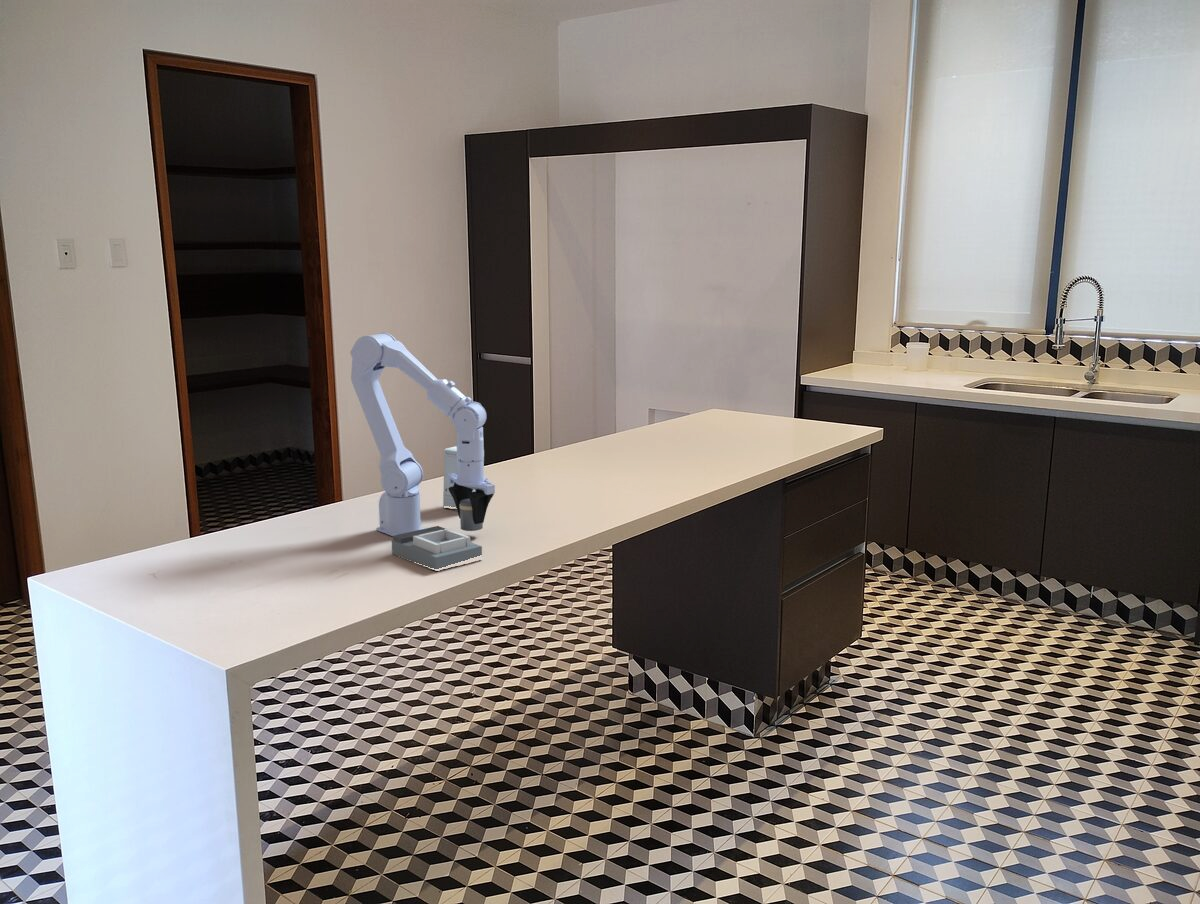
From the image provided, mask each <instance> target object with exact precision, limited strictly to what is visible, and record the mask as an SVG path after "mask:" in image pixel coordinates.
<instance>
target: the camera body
mask: <svg viewBox="0 0 1200 904" xmlns="http://www.w3.org/2000/svg"><path fill="white" fill-rule="evenodd" d="M392 553H393V554H395V555H394V556H396V555H398V556H400V557H399V558H401V557H403V558H405V559H408V560H411V561H413V562H416V563H419V564H422V565H425V566H428V567H430V568H434V569H439V568H442V567H446V566H448V565H451V564H455V563H458V562H461V561H465V560H468V559H470V558H474V557H477V556H480V555H482V556H483V546H482V545H480V544H477V543H474V542H472V541H471V536H470V535H466V534H463V533H460V532H458V531H455V530H452V529H449V528H445V527H442V526H439V525H436V526H430V527H425V529H421V530H417V531H412V532H408V533H403V534H399V535H394V536H392V539H391V554H392ZM393 554H392V555H393ZM398 556H397V557H398ZM403 558H402V559H403ZM405 559H404V560H405ZM408 560H407V561H408ZM413 562H412V563H413Z"/></svg>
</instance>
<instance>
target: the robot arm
mask: <svg viewBox="0 0 1200 904" xmlns="http://www.w3.org/2000/svg"><path fill="white" fill-rule="evenodd" d="M349 353H350V356H351V359H352V360H351V373H350V379H351V380H350V381H351V383H352V386H353V388H354V391H355V393H356V397H357V399H358V402H359V403H360V406H361V408H362V411H363V414H364V416H365V419H366V420H367V424H368V427H369V429H370V432H371V434H372V436H373V439H374V442H375V444H376V446H377V449H378V452H379V454H380V459H379V464H378V468H379V471H380V485H381V487H382V489H383V491H384V492H383V493H382V494H381V495H380V497H379V500H378V515H379V516H378V517H379V518H378V519H379V526H378V527H376V528H375V529H376V531H378V532H381V533H383V534H386V535H388V536H391V537H393V536H394V535H399V534H403V533H408V532H412V531H417V530H421V529H426V527H423V526H421V525H422V524H421V497H420V487H419V485H420V484H421V482H422V481H423V478H424V470H423V468H422V465H420V463H419V462H417V460H416V459H415V457H414V455H413V453H412V452H411V451H410V450H409V449H407V448H406V446H405V444H404V442H403V440H402V437H401V435H400V433H399V430H398V429H399V428H398V427H397V424H396V422H395V420H394V417H393V415H392V412H391V410H390V407H389V405H388V402H387V400H386V396H385V394H384V392H383V389H382V386H381V383H380V381H379V379H380V377H381V375H382V373H383V372H384V369H385V368H386V367H387V368H397V369H399V370H400V371H401V372H402V373H404V374H405V375H407V377H409V378H410V379H412V380H413V381H414V382H415V383H417V384H418V385H419V386H420V387H422V388H423V390H425V391H426V393H427V394H426V395H427V400H428V401H429V402H431V403H432V404H433V405H434V406H436V408H437V409H438V410H439V411H441V412H442V413H443V414H444V415H445V416H446V417H448V418H449V419H451V424H452V426H453V428H454V429H455V430H456V446H457V474H456V473H453V474H448V483H454V485H453V487H449V492H450V493H451V495H452V497H453V499H454V502H455V504H456V508H457V510H456V511H457V514H458V517H459V519H460V501H461V500H464V499H470V502H471V505H472V512H473V521H474V524H479V523H483V524H484V523H485V519H486V513H487V509H488V507H489V504H490V502H491V500H492V498H493V496H494V495H495V493H496V487H495V486H496V485H495V483H491V482H490V481H489V480H488V478H489V477H487V476H485V467H484V466H485V465H484V464H485V447H484V445H485V444H484V427H483V426H484V424H485V423H486V422H487V419H488V418H487V415H488V414H487V411H486V409H485V407H484V406H482V404H481V402H477V401H472V400H473V399H472V398H471V397H470V396H466V395H465V394H463V393H462V392H461V391H460V390H459V389H458V388H457V387H455V386H456V383H455V382H454V381H453V380H448V379H446V378H443V379H439V378H437V377H436V376H435V375H434V374H433V373H432V372H431V371H429V370H428V369H427V367H425V365H424V364H423V363H421V361H419V360H418V359H417V358H416V357H415V356H414V355H413V354H412V353H411V352H410V351H409V350H408V349H407V348H406V347H405V345H404V344H403V343H402V342H401V341H399V340H396V337H394V336H393V335H392V334H390V333H388V332H379V333H376V334H371V335H362V336H361V337H359V338H357V340H356V341H355V342H354V345H352V348H351V350H350V352H349ZM473 489H474V490H475V492H472V491H473Z"/></svg>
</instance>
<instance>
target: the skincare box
mask: <svg viewBox="0 0 1200 904" xmlns="http://www.w3.org/2000/svg"><path fill="white" fill-rule="evenodd" d="M443 453H444V454H443V458H444V459H443V492H442V493H443V495H442V496H443V497H442V498H443V499H442V500H443V501H442V502H443V503H442V506H449V507H450V506H451V507H456V504H455V502H454V499H453V497H452V495H451V493H450V492H449V487H453V485H454V483H448V474H453V473H456V474H457V445H455V446H451V447H447V448H444V451H443ZM472 492H475V490H474V489H473V491H472Z"/></svg>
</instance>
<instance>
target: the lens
mask: <svg viewBox="0 0 1200 904" xmlns="http://www.w3.org/2000/svg"><path fill="white" fill-rule="evenodd" d="M459 519H460V524H459V525H460V530H463V531H466V532H475V531H481V530H482V529H484V527H483V526H484V522H483V523H479V524H474V521H473V512H472V505H471V502H470V499H464V500H461V501H460V518H459Z"/></svg>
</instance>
